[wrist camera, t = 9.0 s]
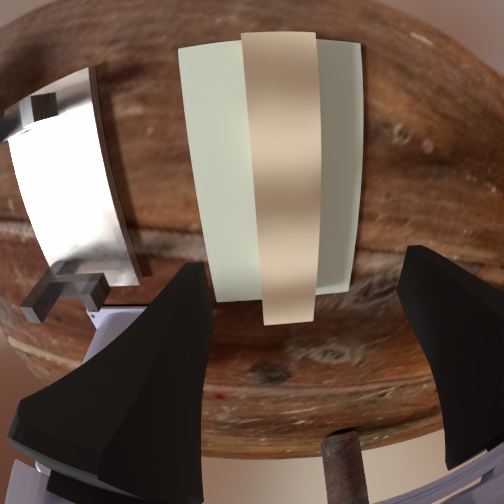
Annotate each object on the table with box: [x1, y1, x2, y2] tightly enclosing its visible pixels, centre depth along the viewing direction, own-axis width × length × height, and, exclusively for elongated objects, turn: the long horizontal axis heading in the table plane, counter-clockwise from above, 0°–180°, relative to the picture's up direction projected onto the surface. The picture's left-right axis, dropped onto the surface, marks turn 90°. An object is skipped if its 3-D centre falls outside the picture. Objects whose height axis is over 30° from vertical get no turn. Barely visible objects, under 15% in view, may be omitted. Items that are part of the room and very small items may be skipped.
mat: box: [178, 39, 363, 302], centre depth 18 cm, size 19×11×1 cm, turn 4°
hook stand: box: [0, 67, 143, 324], centre depth 15 cm, size 17×9×7 cm, turn 4°
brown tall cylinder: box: [321, 431, 369, 504], centre depth 35 cm, size 8×7×20 cm
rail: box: [241, 32, 321, 325], centre depth 16 cm, size 18×4×4 cm, turn 4°
